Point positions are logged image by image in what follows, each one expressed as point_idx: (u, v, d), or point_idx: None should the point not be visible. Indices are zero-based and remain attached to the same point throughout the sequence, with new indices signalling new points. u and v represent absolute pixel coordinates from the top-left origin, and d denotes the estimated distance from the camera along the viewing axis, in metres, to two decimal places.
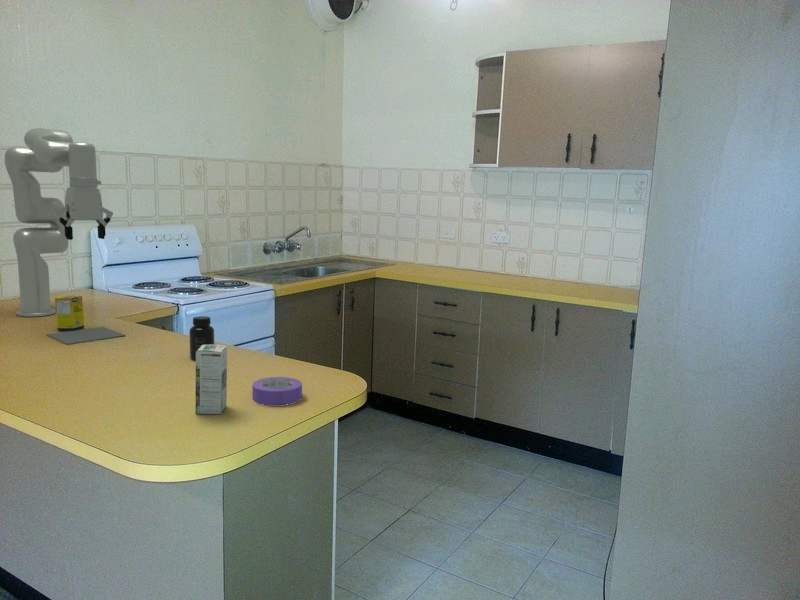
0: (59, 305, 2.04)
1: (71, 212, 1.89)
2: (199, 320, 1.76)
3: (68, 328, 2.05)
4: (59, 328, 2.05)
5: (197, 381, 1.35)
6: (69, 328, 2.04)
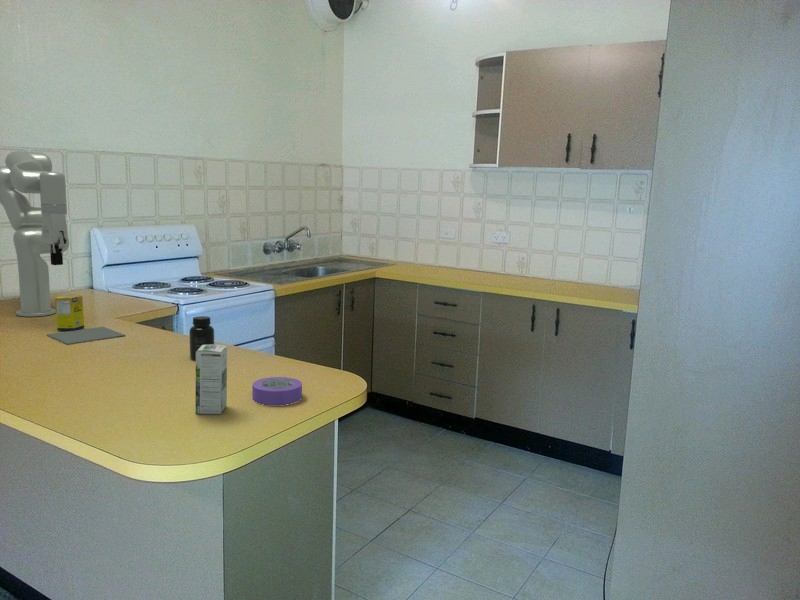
0: (59, 305, 2.04)
1: (67, 237, 2.07)
2: (199, 320, 1.76)
3: (68, 328, 2.05)
4: (59, 328, 2.05)
5: (197, 381, 1.35)
6: (69, 328, 2.04)
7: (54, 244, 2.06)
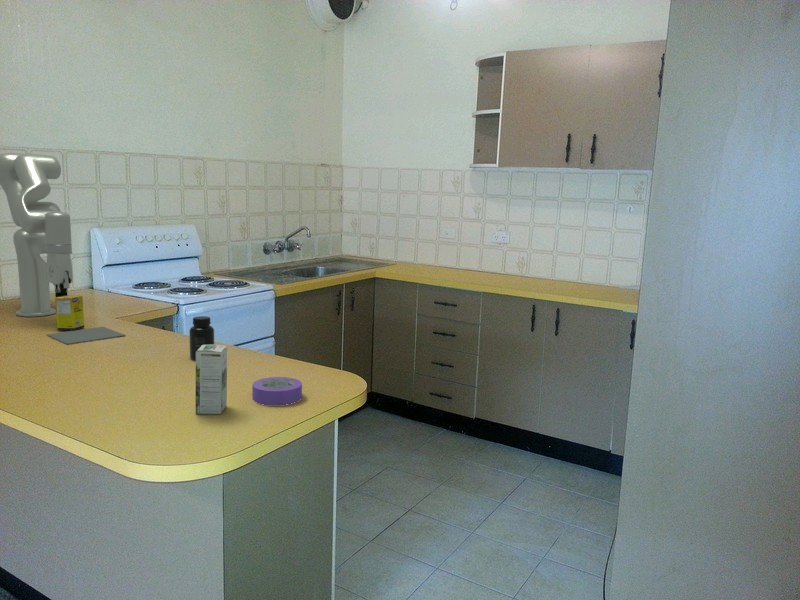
0: (59, 305, 2.04)
1: (72, 277, 2.07)
2: (199, 320, 1.76)
3: (68, 328, 2.04)
4: (59, 328, 2.05)
5: (197, 381, 1.35)
6: (69, 328, 2.04)
7: (59, 284, 2.07)
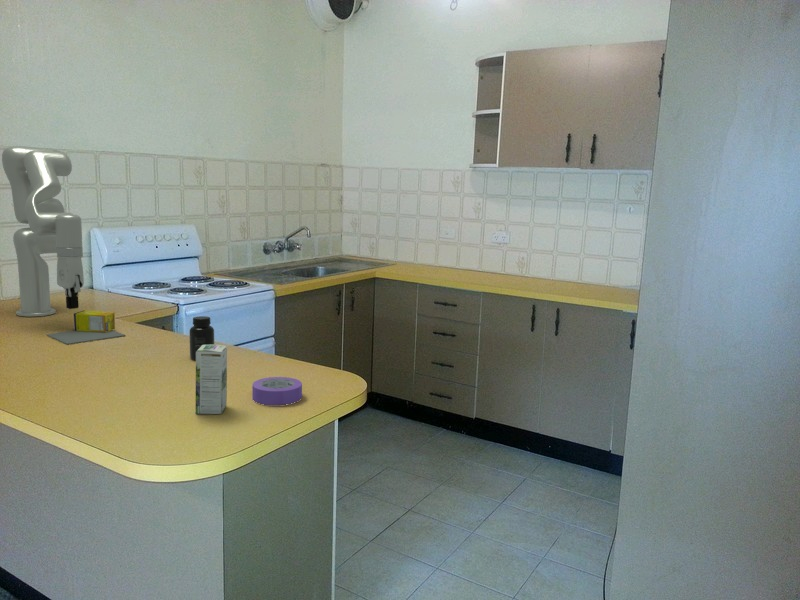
0: (97, 319, 2.03)
1: (83, 281, 2.02)
2: (199, 320, 1.76)
3: (75, 325, 2.04)
4: (75, 316, 2.04)
5: (197, 381, 1.35)
6: (76, 326, 2.04)
7: (70, 288, 2.02)
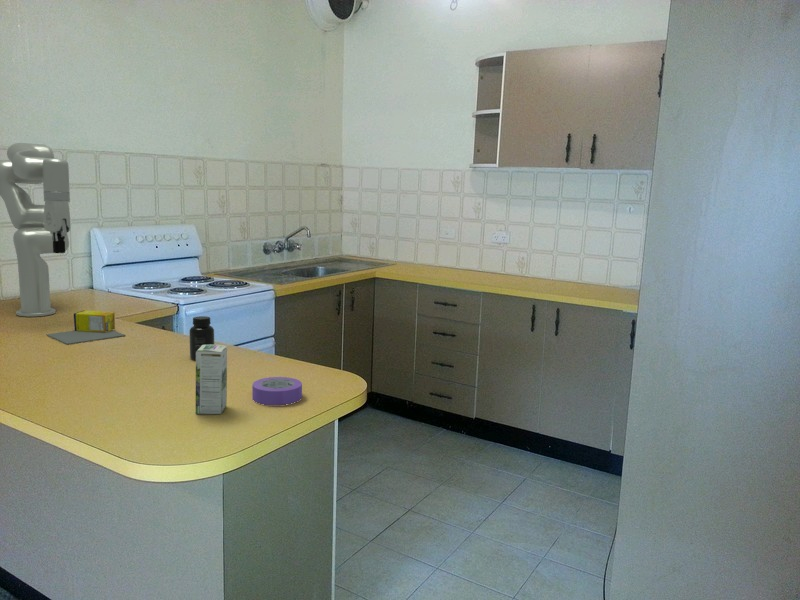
0: (97, 319, 2.03)
1: None
2: (199, 320, 1.76)
3: (75, 325, 2.04)
4: (75, 316, 2.04)
5: (197, 381, 1.35)
6: (76, 326, 2.04)
7: (57, 232, 2.04)
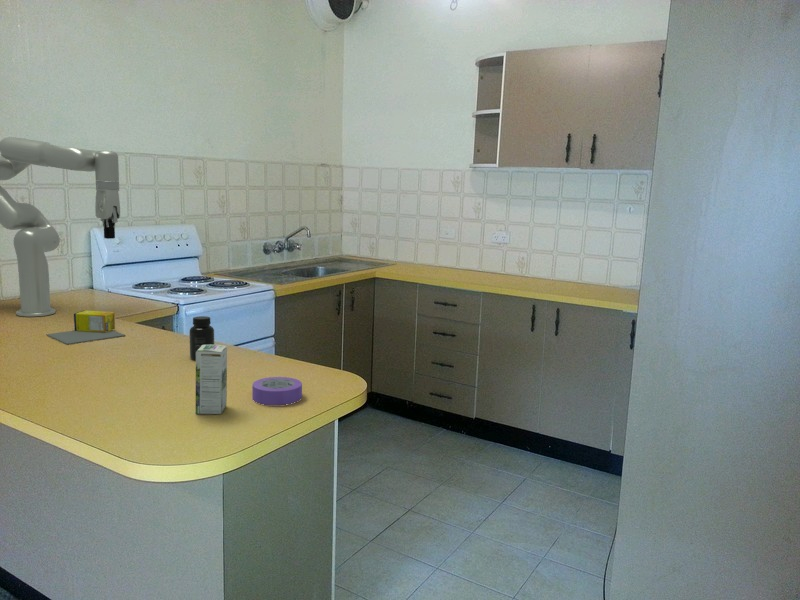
0: (97, 319, 2.03)
1: None
2: (199, 320, 1.76)
3: (75, 325, 2.04)
4: (75, 316, 2.04)
5: (197, 381, 1.35)
6: (76, 326, 2.04)
7: (108, 219, 2.21)
